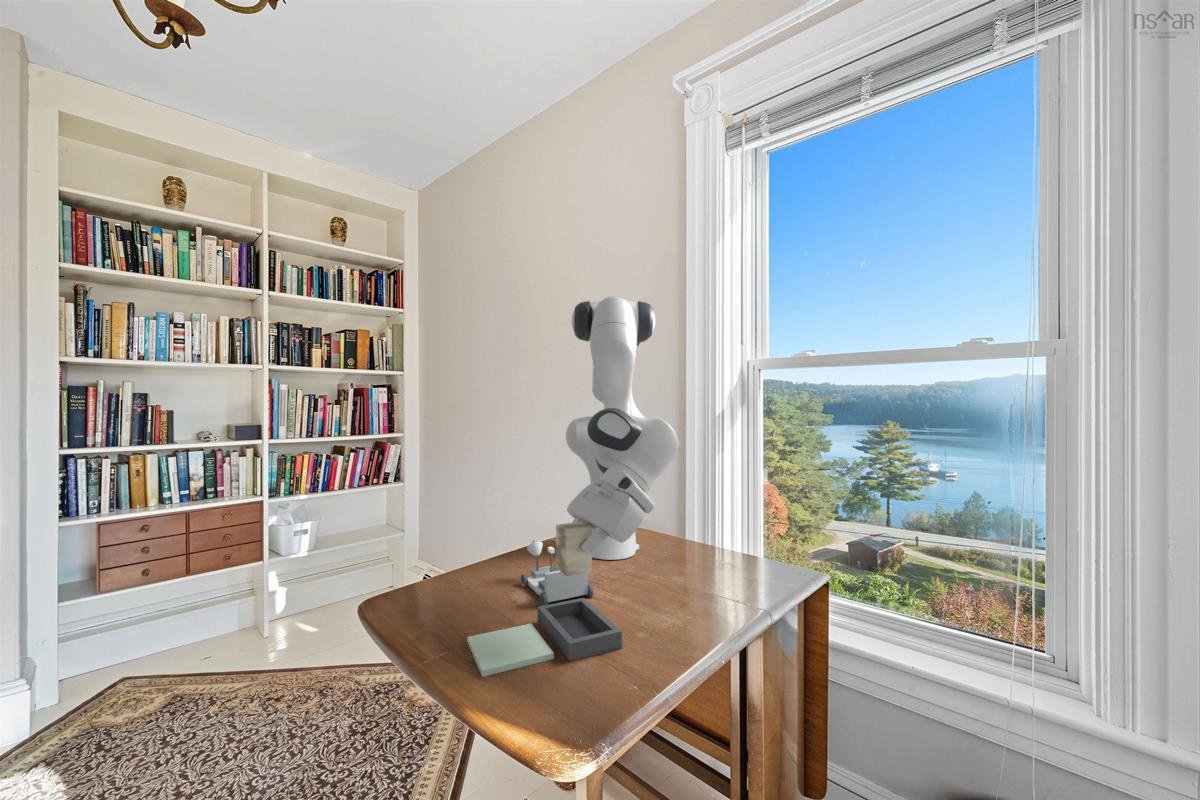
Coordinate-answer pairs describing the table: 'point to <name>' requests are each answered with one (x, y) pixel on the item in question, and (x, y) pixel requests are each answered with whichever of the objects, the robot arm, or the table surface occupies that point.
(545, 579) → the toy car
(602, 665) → the table surface
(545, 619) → the tray
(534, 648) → the pad
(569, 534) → the birch block
